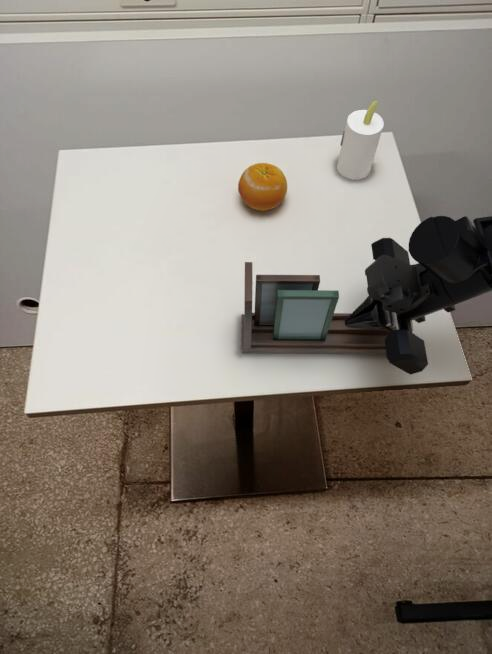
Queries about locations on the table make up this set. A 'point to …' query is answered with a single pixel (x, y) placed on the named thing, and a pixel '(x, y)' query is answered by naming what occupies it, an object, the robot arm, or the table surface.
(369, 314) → the robot arm
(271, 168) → the fruit
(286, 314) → the sash
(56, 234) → the table surface
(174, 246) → the table surface
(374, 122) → the candle
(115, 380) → the table surface
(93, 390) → the table surface
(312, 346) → the frame display rack
